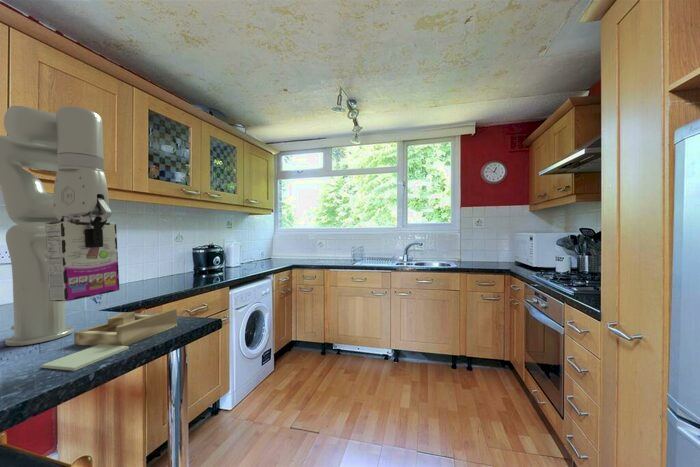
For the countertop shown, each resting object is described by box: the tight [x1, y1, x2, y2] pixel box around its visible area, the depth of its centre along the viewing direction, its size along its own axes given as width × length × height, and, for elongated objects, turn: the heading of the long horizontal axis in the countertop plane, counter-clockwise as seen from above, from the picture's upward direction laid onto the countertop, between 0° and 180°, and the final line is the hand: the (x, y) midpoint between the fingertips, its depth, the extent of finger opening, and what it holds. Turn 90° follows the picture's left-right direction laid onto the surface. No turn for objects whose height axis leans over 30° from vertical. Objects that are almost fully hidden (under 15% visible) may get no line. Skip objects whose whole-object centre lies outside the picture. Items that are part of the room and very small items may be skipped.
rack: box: [73, 308, 178, 347], centre depth 78 cm, size 15×16×5 cm
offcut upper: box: [107, 311, 136, 328], centre depth 79 cm, size 4×6×2 cm, turn 13°
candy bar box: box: [45, 222, 120, 302], centre depth 63 cm, size 11×5×16 cm, turn 168°
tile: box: [41, 344, 130, 372], centre depth 63 cm, size 9×11×1 cm
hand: (84, 246), depth 63 cm, fingers closed on candy bar box, 5 cm apart
